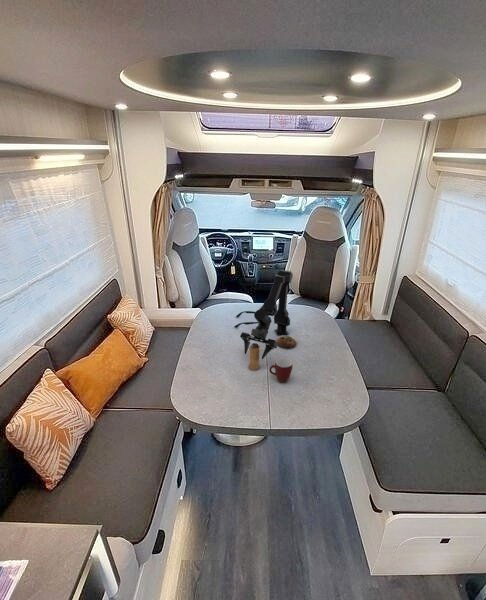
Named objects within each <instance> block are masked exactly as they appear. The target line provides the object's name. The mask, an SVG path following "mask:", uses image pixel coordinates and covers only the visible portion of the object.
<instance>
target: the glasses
mask: <svg viewBox="0 0 486 600" xmlns="http://www.w3.org/2000/svg"><path fill="white" fill-rule="evenodd" d="M255 312H256V311H251V310H244V311H241V312H239V313H238V314H237V315H235V317H236V318H240V316H241V315H242V314H244V313H245V314H254V313H255ZM254 324H255V325H256V324H257V325H258V324H259V323H258V321H246V322H240V323H237V324H235V325H234V328H236V329H237V328H239V327H240V326H241V325H246V326H247V325H248V326H249V325H254Z"/></svg>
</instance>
